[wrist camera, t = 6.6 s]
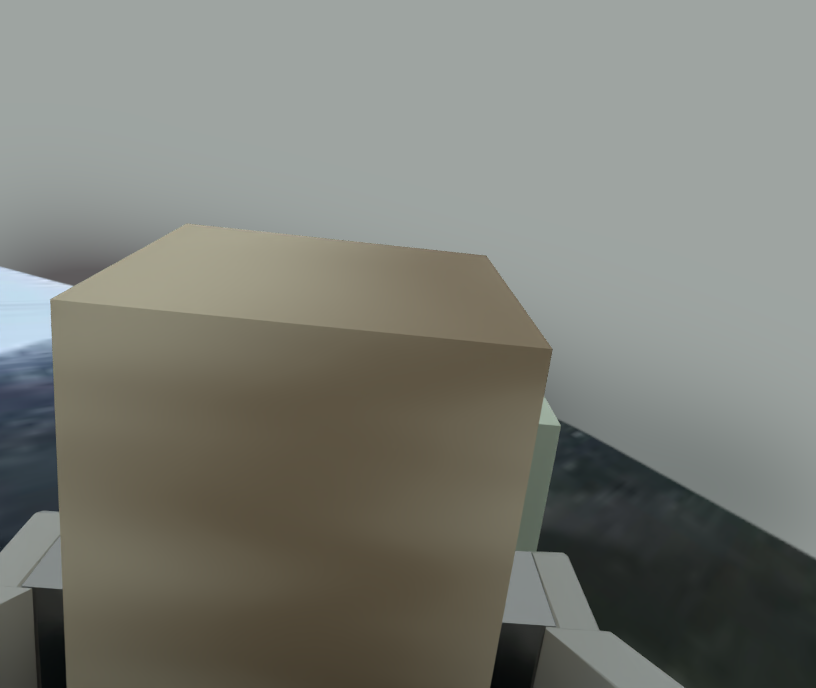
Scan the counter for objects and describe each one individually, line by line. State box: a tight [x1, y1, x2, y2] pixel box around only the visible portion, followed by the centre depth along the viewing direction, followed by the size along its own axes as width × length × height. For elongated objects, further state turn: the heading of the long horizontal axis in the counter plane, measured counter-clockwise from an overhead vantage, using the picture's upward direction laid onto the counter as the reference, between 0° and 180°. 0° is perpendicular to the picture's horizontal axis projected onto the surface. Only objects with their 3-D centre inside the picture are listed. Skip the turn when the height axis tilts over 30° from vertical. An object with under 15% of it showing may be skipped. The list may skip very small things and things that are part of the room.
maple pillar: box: [50, 224, 552, 688], centre depth 9 cm, size 4×4×10 cm
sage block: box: [515, 397, 561, 552], centre depth 18 cm, size 6×6×6 cm
